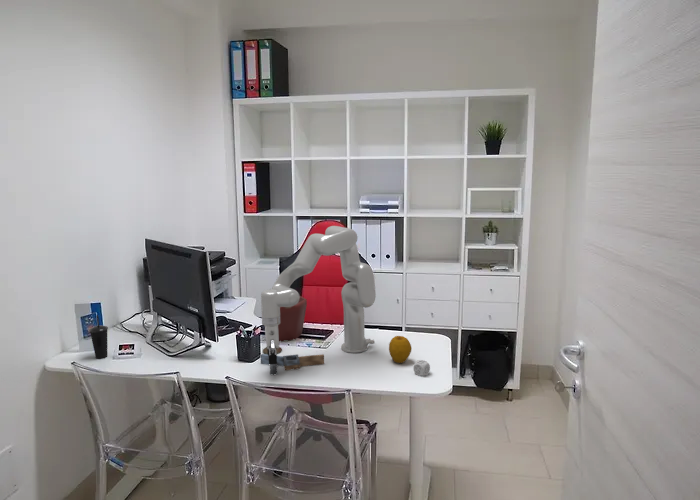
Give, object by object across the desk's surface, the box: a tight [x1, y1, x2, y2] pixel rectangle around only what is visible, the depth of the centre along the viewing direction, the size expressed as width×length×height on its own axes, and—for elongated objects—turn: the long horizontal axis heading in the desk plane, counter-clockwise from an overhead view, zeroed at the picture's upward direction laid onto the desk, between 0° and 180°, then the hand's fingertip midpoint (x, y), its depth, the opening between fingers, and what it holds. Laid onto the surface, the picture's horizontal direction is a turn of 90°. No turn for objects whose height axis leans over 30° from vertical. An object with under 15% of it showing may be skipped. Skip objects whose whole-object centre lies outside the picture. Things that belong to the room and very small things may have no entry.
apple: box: [388, 335, 412, 364], centre depth 221 cm, size 10×10×12 cm
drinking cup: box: [88, 314, 109, 360], centre depth 230 cm, size 8×8×20 cm
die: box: [413, 359, 431, 377], centre depth 209 cm, size 5×5×5 cm
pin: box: [269, 350, 278, 376], centre depth 211 cm, size 3×3×10 cm
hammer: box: [259, 353, 325, 371], centre depth 221 cm, size 27×11×4 cm, turn 102°
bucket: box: [278, 295, 308, 342], centre depth 255 cm, size 24×22×25 cm
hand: (272, 359), depth 211 cm, fingers open, 9 cm apart
